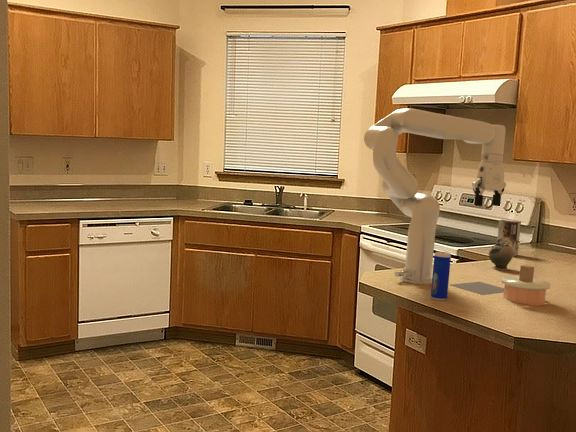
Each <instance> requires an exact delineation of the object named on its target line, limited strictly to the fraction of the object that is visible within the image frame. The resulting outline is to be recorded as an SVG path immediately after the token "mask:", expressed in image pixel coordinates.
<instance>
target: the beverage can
mask: <svg viewBox="0 0 576 432" xmlns="http://www.w3.org/2000/svg"><path fill="white" fill-rule="evenodd" d="M451 259H452V256H451V252H448V251H435V252H434V254H433V264H432V275H431V277H432V284H431V288H430V289H431V291H430V298H431V299H433V300H436V301H446V300H447V299H448V292H449V281H450V273H451V272H450V269H451Z"/></svg>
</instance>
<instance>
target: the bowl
mask: <svg viewBox="0 0 576 432" xmlns="http://www.w3.org/2000/svg"><path fill="white" fill-rule="evenodd" d="M503 288H504V292H503V298H504V299H505V300H506V301H510V302H512V303H517V304H521V305H522V304H523V305H530V306H531V307H532V306H534V307H535V306H536V307H539V306H545V303H546V297H547V289H545V290H534V289H524V288H518V287H513V286H510V285H506V284H504V286H503Z"/></svg>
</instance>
